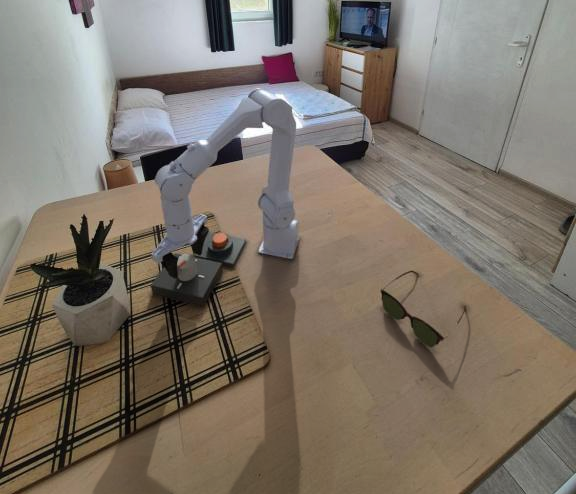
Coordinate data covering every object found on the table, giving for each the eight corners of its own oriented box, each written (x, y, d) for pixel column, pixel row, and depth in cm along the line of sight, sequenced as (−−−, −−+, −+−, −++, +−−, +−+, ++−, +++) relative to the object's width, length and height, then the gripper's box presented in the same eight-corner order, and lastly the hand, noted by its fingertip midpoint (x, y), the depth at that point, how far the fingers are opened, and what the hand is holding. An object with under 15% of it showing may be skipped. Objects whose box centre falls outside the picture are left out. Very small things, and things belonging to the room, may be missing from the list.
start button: (229, 239, 88) (228, 234, 87) (223, 249, 84) (223, 243, 84) (216, 237, 88) (216, 232, 88) (211, 246, 85) (210, 241, 84)
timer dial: (187, 263, 79) (185, 250, 78) (201, 270, 77) (199, 257, 76) (173, 276, 76) (171, 262, 74) (187, 284, 74) (185, 270, 72)
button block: (246, 242, 90) (245, 233, 89) (233, 267, 82) (232, 258, 81) (209, 235, 93) (208, 226, 91) (194, 258, 85) (192, 250, 83)
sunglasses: (376, 304, 73) (380, 287, 71) (411, 274, 82) (415, 258, 80) (438, 356, 63) (444, 338, 61) (470, 315, 72) (476, 298, 70)
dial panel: (222, 271, 81) (221, 262, 80) (203, 307, 72) (202, 297, 71) (176, 261, 84) (174, 252, 82) (152, 294, 75) (150, 284, 74)
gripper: (165, 245, 62) (174, 295, 68) (215, 204, 74) (219, 250, 79) (140, 233, 65) (151, 281, 71) (192, 195, 77) (198, 239, 83)
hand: (186, 264), depth 75 cm, fingers open, 7 cm apart
